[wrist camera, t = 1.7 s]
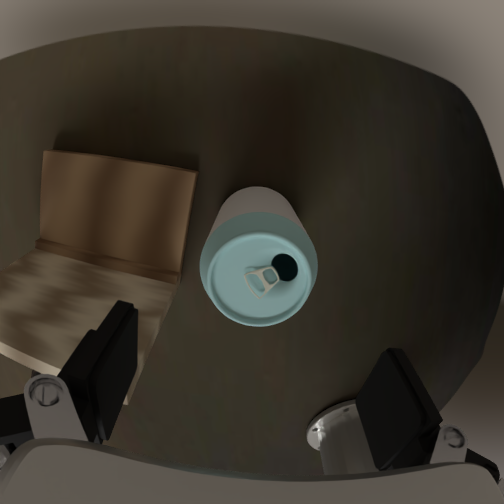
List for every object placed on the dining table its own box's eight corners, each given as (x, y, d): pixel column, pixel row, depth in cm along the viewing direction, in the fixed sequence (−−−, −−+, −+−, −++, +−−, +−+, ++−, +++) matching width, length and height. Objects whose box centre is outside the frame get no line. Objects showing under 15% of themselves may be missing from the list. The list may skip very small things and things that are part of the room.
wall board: (198, 171, 26) (131, 215, 11) (180, 284, 30) (127, 405, 15) (52, 149, 25) (-71, 176, 10) (48, 250, 29) (-48, 323, 14)
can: (235, 172, 26) (222, 198, 15) (308, 204, 27) (346, 251, 16) (206, 243, 28) (178, 311, 17) (275, 270, 29) (288, 349, 18)
